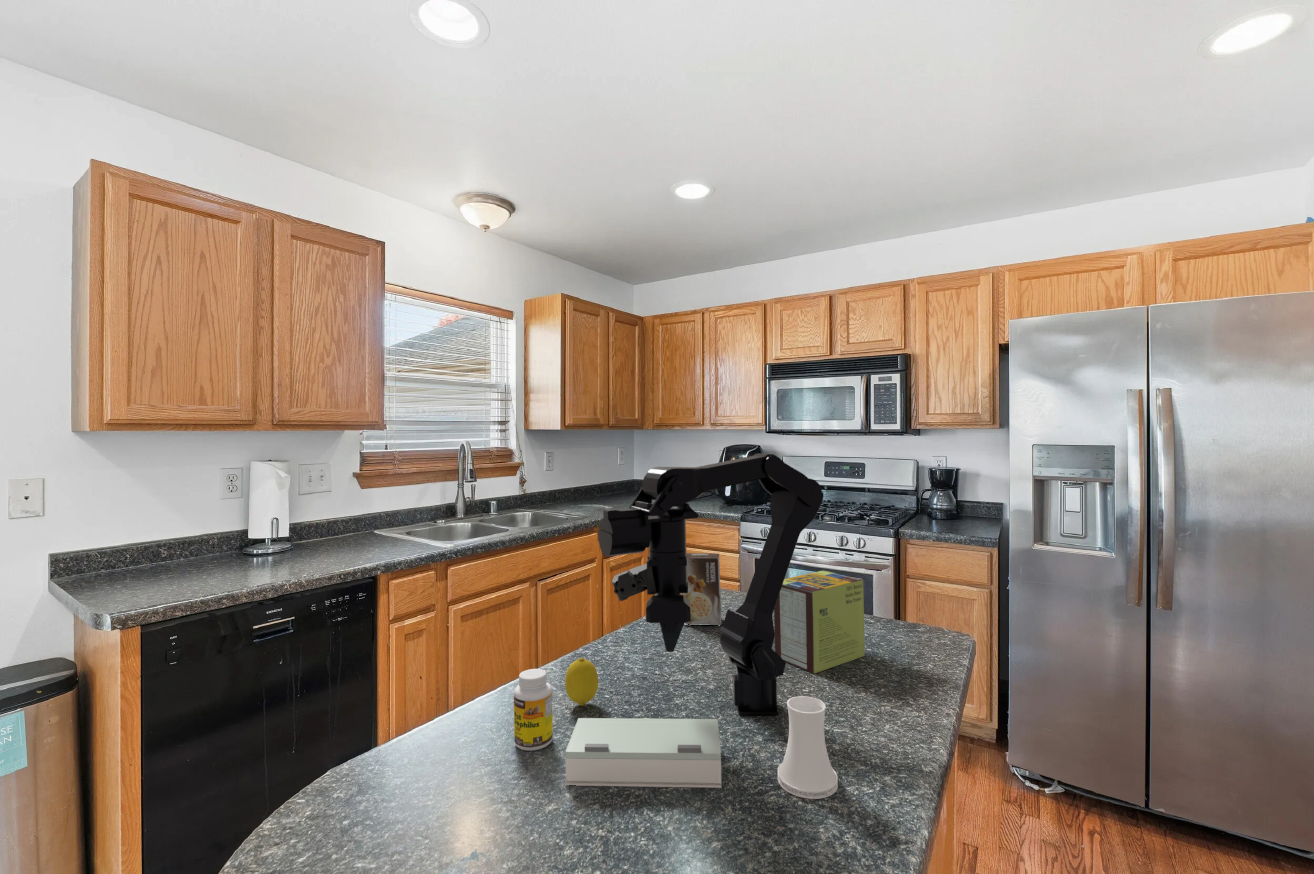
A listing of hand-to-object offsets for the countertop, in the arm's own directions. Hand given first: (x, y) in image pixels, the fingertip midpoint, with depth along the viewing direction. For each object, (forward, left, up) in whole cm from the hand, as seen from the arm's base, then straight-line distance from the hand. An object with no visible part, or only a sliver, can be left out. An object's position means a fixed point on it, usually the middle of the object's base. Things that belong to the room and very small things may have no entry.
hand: (670, 651), depth 90 cm
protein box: (-29, -29, -12) cm, 43 cm away
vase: (-18, +13, -12) cm, 25 cm away
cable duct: (+3, +11, -12) cm, 16 cm away
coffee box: (-6, -51, -12) cm, 53 cm away
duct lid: (+3, +11, -8) cm, 14 cm away
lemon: (+15, -7, -12) cm, 21 cm away
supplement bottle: (+20, +5, -12) cm, 24 cm away
